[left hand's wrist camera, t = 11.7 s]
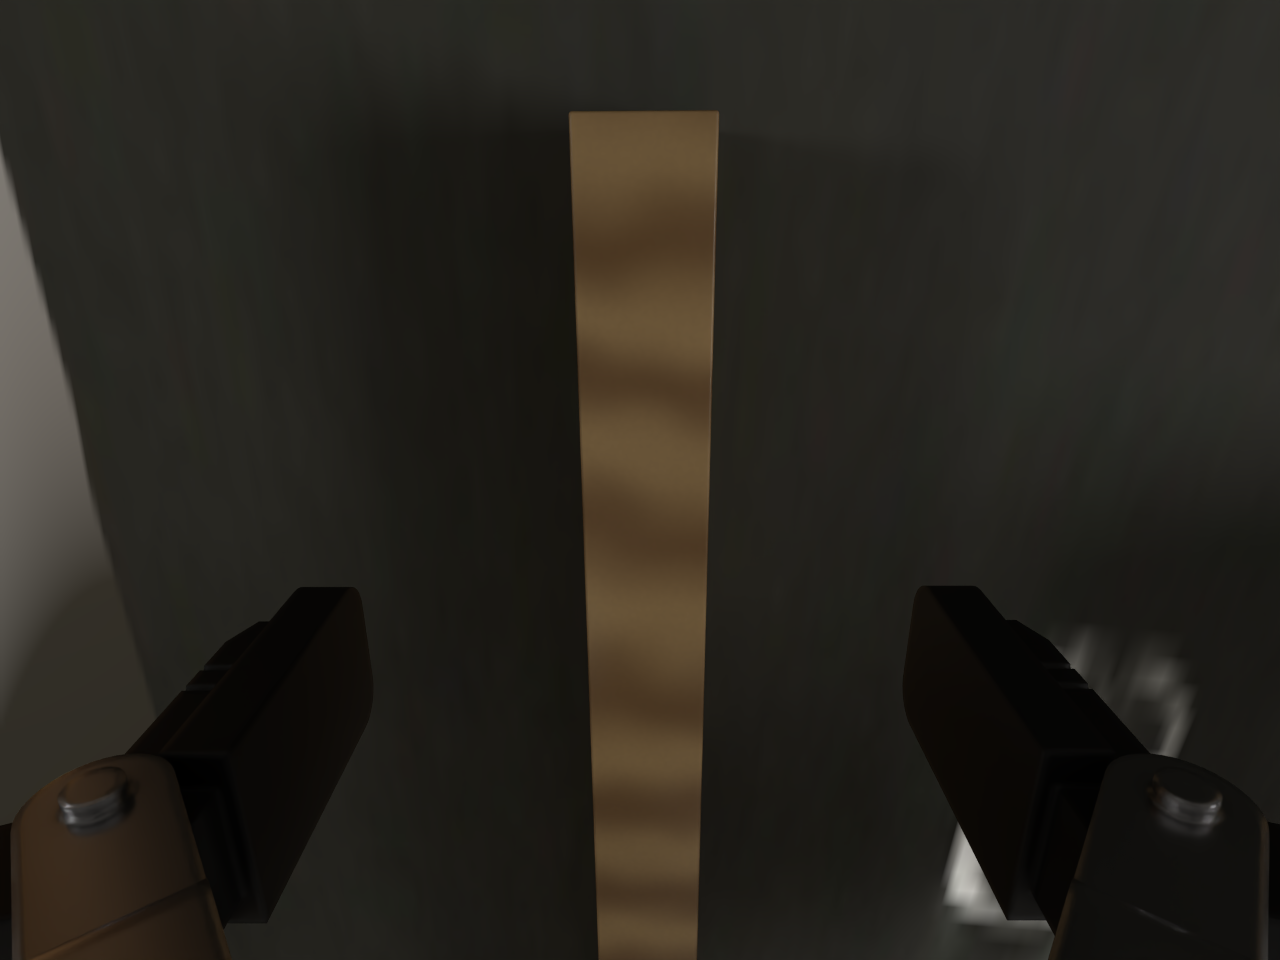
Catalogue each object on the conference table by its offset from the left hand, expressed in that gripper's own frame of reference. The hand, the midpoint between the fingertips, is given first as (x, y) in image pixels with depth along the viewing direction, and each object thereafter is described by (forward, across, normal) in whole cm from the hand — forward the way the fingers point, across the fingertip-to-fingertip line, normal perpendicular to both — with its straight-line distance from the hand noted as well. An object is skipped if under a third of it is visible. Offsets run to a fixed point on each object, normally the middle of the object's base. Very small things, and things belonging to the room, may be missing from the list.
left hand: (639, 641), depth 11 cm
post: (+25, 0, -18) cm, 31 cm away
